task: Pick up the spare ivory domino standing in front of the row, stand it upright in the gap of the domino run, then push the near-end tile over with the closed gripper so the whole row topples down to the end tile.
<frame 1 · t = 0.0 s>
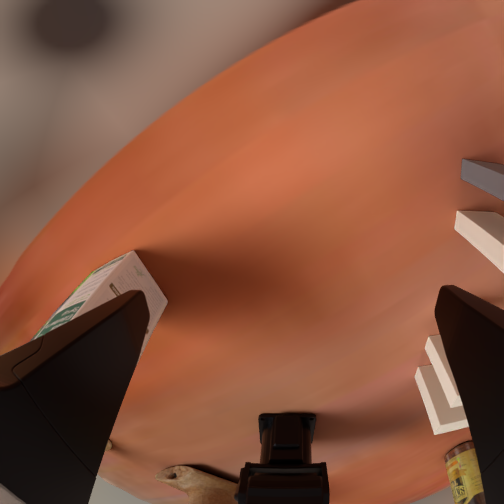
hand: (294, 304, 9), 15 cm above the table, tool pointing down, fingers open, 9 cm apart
domino 4: (475, 220, 22), on the table
domino 2: (444, 340, 27), on the table
domino 1: (433, 369, 29), on the table
domino 5: (482, 171, 20), on the table
stone cup: (211, 477, 43), on the table
syrup box: (130, 285, 27), on the table
sauce bottle: (458, 449, 37), on the table
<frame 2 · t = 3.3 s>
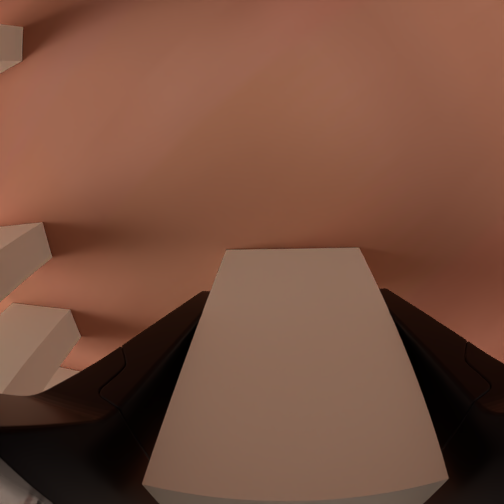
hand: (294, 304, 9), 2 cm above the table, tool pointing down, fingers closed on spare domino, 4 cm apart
domino 2: (44, 319, 13), on the table
domino 1: (73, 378, 15), on the table
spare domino: (293, 270, 11), on the table, touching gripper
domino 3: (16, 242, 11), on the table
when the fingers open (3 cm above the table, at t = 7.7 s): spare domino stays where it is, on the table.
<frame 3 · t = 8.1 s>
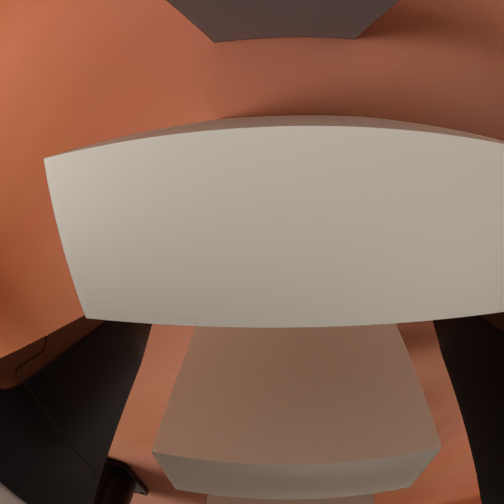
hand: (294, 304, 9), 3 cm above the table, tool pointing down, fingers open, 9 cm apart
domino 4: (290, 140, 9), on the table
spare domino: (292, 261, 11), on the table
domino 5: (283, 15, 8), on the table
domino 3: (292, 350, 13), on the table
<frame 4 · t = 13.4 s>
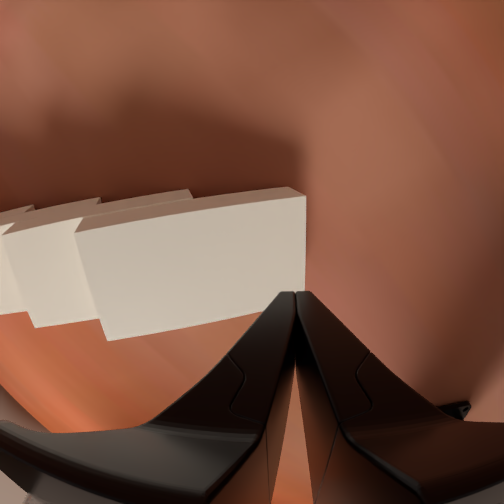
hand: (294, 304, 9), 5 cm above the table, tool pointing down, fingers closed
domino 2: (196, 244, 13), point 1 cm above the table, tilted 67°, touching domino 1, domino 3
domino 1: (296, 244, 13), point 1 cm above the table, tilted 67°, touching domino 2
domino 3: (106, 247, 14), point 1 cm above the table, tilted 67°, touching domino 2
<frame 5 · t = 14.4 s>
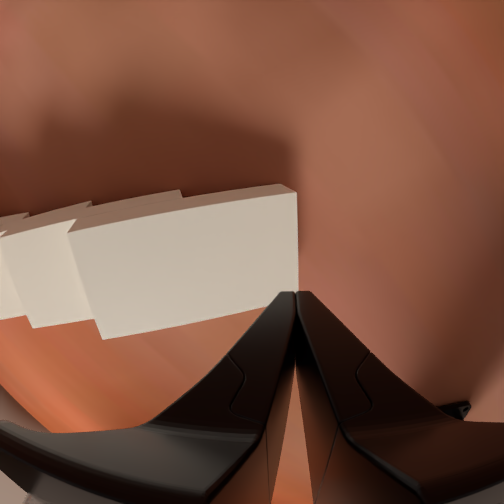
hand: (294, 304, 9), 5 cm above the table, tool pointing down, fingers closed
domino 2: (188, 244, 13), point 1 cm above the table, tilted 68°, touching domino 1, domino 3
domino 1: (289, 241, 13), point 1 cm above the table, tilted 68°, touching domino 2
domino 3: (99, 249, 14), point 1 cm above the table, tilted 68°, touching domino 2, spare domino
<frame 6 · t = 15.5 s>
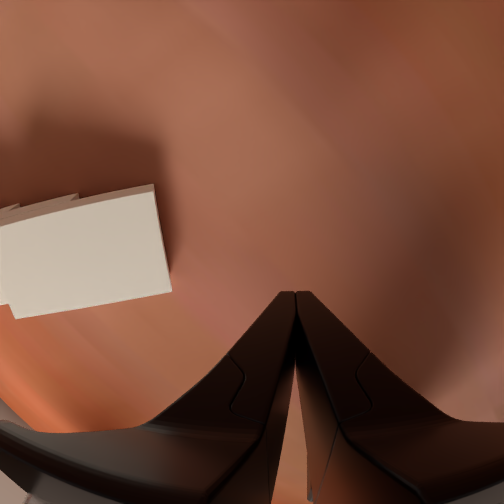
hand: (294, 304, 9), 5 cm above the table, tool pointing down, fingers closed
domino 2: (84, 240, 14), point 1 cm above the table, tilted 69°, touching domino 1, domino 3
domino 1: (162, 237, 13), point 1 cm above the table, tilted 68°, touching domino 2
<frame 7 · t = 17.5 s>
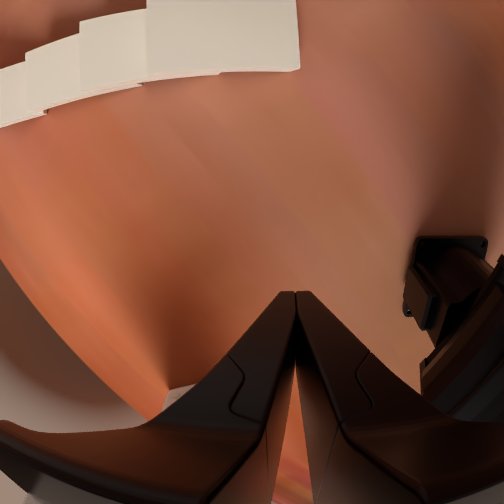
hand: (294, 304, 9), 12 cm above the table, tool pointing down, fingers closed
domino 2: (218, 38, 15), point 1 cm above the table, tilted 71°, touching domino 1, domino 3
domino 1: (292, 35, 15), point 1 cm above the table, tilted 68°, touching domino 2
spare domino: (44, 85, 17), point 1 cm above the table, tilted 60°, touching domino 4
domino 3: (138, 52, 16), point 1 cm above the table, tilted 78°, touching domino 2
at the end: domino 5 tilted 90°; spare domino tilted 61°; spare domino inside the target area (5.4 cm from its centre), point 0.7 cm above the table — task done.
